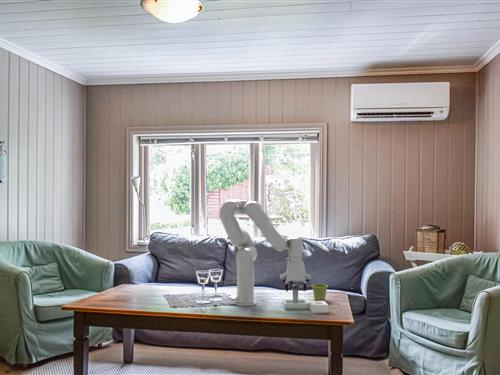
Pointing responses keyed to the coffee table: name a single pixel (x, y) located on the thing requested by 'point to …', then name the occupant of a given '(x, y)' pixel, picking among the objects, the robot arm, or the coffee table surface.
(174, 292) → the coffee table surface
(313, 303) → the socket block
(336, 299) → the coffee table surface
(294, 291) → the pin
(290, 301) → the tray
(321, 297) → the plant pot
